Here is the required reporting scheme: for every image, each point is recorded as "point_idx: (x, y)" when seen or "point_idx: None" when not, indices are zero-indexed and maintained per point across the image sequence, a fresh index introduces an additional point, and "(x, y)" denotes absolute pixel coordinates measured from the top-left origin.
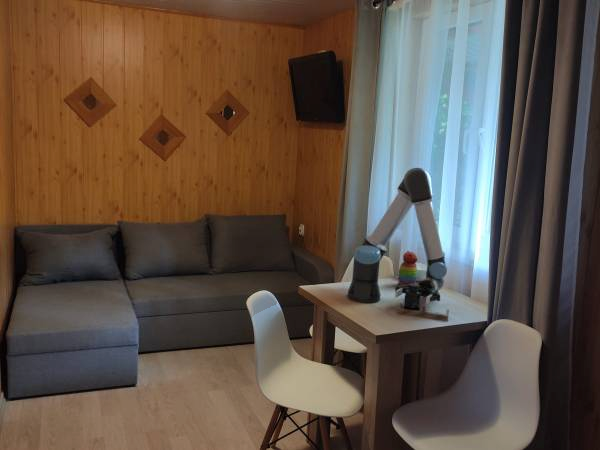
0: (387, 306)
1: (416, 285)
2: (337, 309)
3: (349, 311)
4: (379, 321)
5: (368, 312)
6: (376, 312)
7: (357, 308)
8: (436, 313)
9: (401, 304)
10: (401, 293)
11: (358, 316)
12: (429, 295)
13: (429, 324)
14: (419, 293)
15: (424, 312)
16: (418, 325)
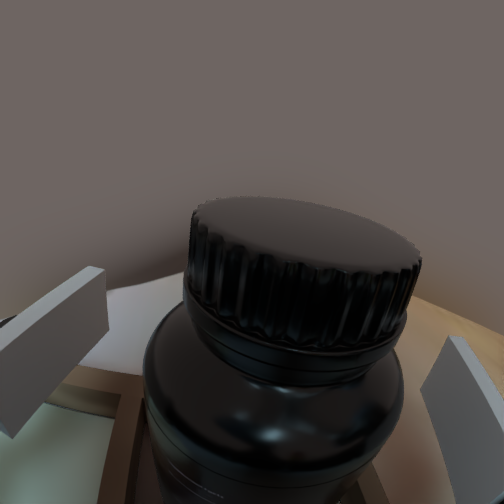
0: (452, 498)
1: (257, 208)
2: (498, 334)
3: (471, 335)
4: None
5: (433, 355)
6: (414, 371)
7: (490, 372)
8: None
9: (367, 502)
10: (468, 498)
11: (416, 312)
12: (31, 321)
13: (115, 312)
14: (177, 306)
15: (121, 376)
16: (172, 297)
